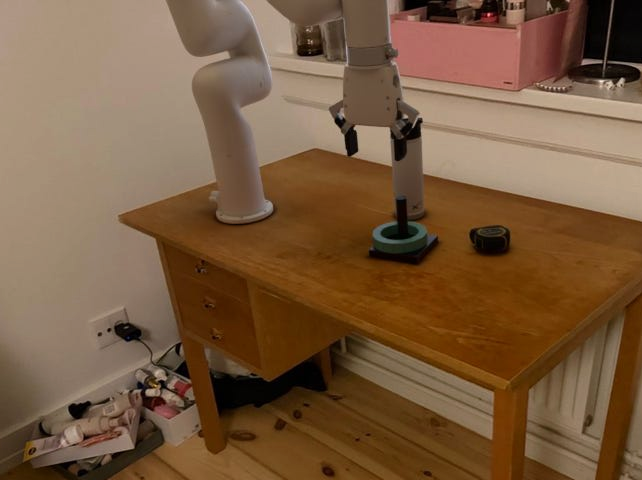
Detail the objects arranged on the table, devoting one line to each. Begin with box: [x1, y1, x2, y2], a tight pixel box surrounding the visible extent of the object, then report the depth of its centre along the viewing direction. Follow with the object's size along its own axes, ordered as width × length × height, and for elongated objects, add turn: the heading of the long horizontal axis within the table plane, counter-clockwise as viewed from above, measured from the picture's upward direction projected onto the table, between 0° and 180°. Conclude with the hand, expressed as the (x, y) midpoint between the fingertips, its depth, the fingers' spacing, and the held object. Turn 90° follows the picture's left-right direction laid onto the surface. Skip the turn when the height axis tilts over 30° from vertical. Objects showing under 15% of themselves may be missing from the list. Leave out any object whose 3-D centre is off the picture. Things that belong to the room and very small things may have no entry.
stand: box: [368, 196, 439, 265], centre depth 132 cm, size 10×10×10 cm
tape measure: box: [468, 224, 511, 253], centre depth 132 cm, size 7×7×4 cm
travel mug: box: [389, 117, 425, 221], centre depth 144 cm, size 6×7×20 cm
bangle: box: [371, 220, 428, 253], centre depth 134 cm, size 10×10×2 cm
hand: (376, 156), depth 127 cm, fingers open, 9 cm apart
